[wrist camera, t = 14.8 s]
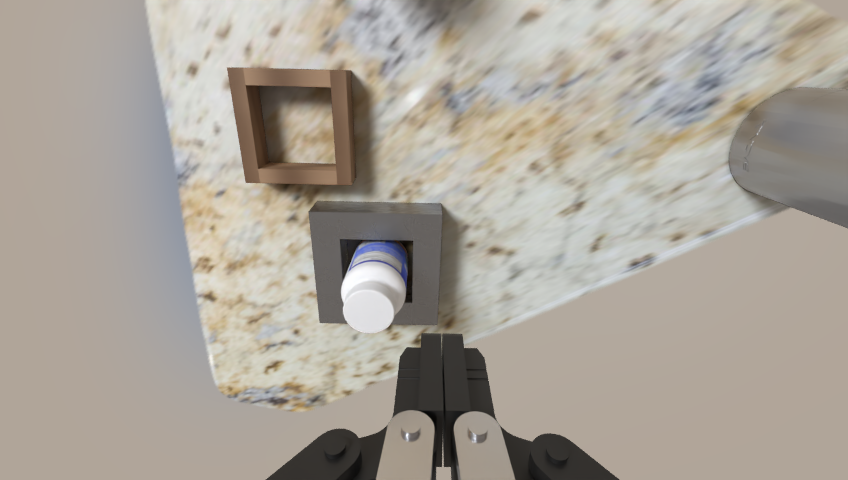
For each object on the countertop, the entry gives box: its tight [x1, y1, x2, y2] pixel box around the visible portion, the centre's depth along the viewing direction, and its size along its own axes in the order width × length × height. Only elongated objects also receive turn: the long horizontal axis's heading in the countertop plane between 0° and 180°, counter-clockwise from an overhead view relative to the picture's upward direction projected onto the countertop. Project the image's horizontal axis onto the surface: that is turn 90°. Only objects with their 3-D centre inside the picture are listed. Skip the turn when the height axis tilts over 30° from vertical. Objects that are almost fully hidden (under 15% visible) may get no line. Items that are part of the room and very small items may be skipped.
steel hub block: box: [309, 201, 442, 325], centre depth 37 cm, size 12×12×3 cm
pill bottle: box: [341, 240, 408, 333], centre depth 34 cm, size 5×5×10 cm
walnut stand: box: [227, 68, 356, 185], centre depth 32 cm, size 9×9×2 cm
